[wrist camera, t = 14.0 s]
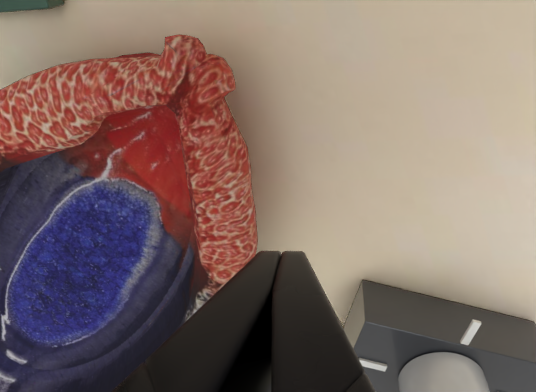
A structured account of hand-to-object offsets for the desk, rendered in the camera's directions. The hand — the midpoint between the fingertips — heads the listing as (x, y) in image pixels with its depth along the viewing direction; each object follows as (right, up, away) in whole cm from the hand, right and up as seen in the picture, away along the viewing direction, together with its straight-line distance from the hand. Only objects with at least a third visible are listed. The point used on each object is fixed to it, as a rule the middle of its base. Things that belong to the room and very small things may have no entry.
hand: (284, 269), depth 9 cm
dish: (-10, -2, +17) cm, 20 cm away
